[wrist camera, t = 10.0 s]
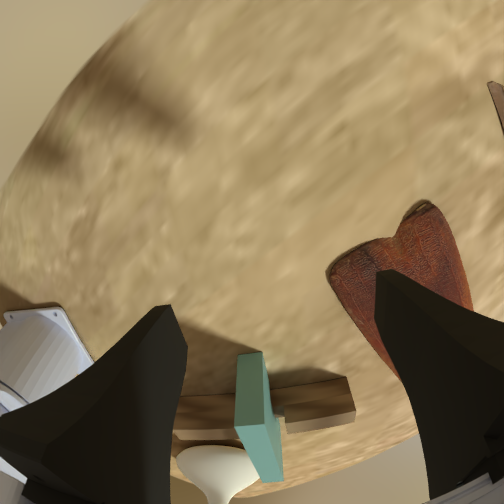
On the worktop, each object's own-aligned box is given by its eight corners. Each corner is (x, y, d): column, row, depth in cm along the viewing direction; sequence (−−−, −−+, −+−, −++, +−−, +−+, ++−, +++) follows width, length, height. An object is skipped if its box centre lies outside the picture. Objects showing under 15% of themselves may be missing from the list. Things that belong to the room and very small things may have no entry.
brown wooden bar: (185, 407, 27) (179, 439, 24) (178, 396, 26) (172, 429, 23) (345, 389, 26) (354, 422, 22) (346, 377, 25) (356, 410, 21)
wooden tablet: (316, 269, 21) (321, 281, 19) (428, 189, 18) (441, 196, 17) (417, 410, 30) (421, 420, 28) (481, 367, 27) (487, 376, 26)
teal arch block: (279, 425, 28) (283, 480, 22) (261, 427, 29) (262, 482, 22) (262, 351, 23) (264, 424, 17) (237, 355, 24) (234, 426, 17)
